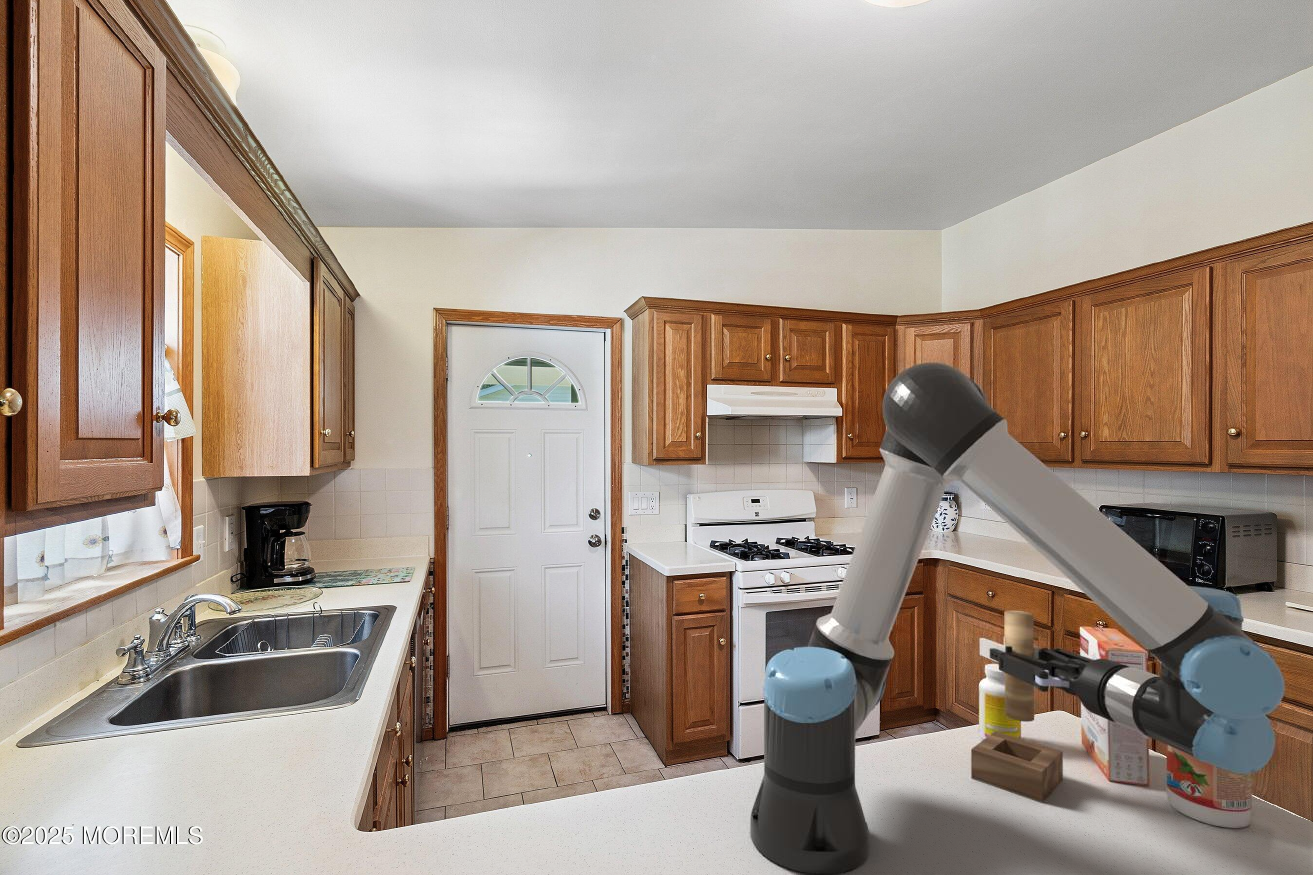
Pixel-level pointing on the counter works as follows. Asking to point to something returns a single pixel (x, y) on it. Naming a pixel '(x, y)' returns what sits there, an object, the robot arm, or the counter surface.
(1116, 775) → the cracker box
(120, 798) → the counter surface
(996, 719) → the supplement bottle
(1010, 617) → the dowel
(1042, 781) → the socket block
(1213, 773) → the fruit juice
